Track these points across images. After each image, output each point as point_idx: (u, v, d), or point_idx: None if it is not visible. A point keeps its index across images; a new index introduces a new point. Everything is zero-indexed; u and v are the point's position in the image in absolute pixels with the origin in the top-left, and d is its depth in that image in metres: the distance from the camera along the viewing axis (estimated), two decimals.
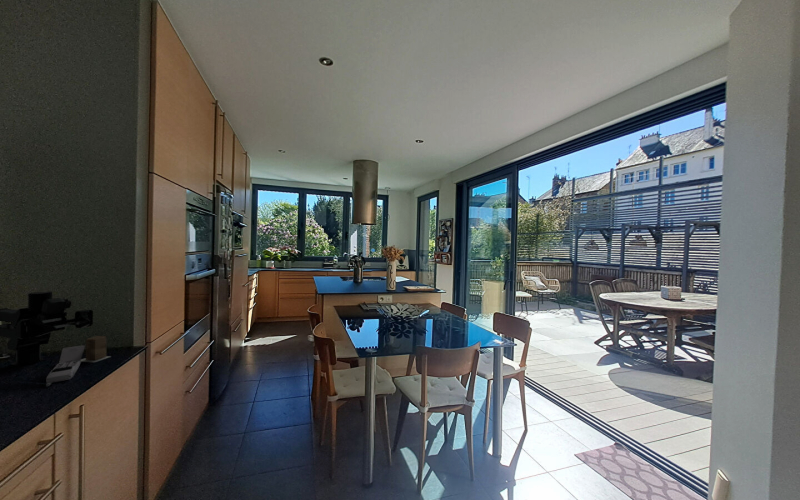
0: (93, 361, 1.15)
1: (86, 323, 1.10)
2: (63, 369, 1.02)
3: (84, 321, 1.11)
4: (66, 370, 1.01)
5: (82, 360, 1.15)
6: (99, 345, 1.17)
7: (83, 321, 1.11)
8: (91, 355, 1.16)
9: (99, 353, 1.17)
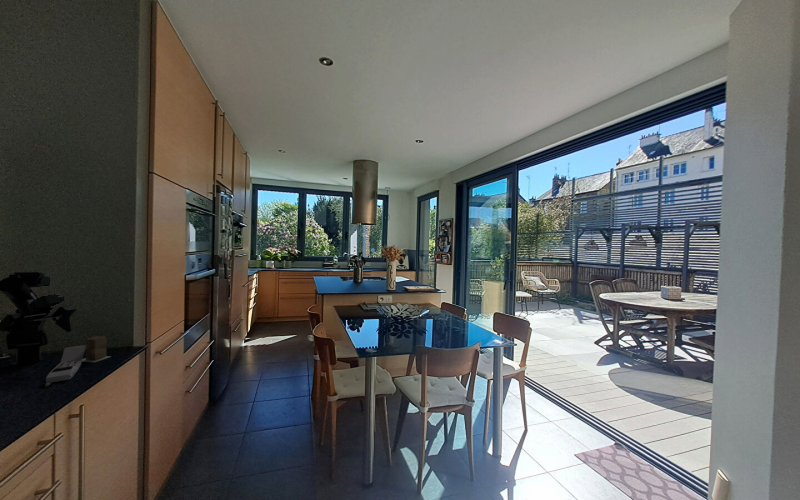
0: (93, 361, 1.15)
1: (65, 329, 1.12)
2: (63, 369, 1.02)
3: (64, 325, 1.12)
4: (66, 370, 1.01)
5: (82, 360, 1.15)
6: (99, 345, 1.17)
7: (64, 324, 1.12)
8: (91, 355, 1.16)
9: (99, 353, 1.17)
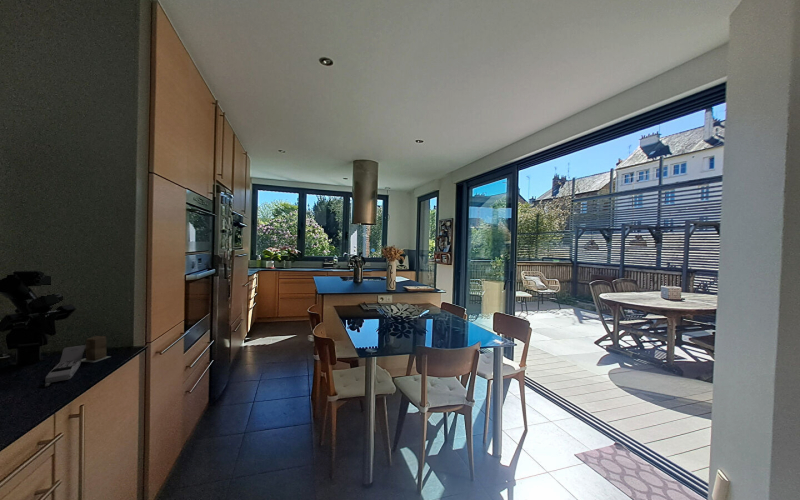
0: (93, 361, 1.15)
1: None
2: (63, 369, 1.02)
3: None
4: (65, 370, 1.01)
5: (82, 360, 1.15)
6: (99, 345, 1.17)
7: None
8: (91, 355, 1.16)
9: (99, 353, 1.17)
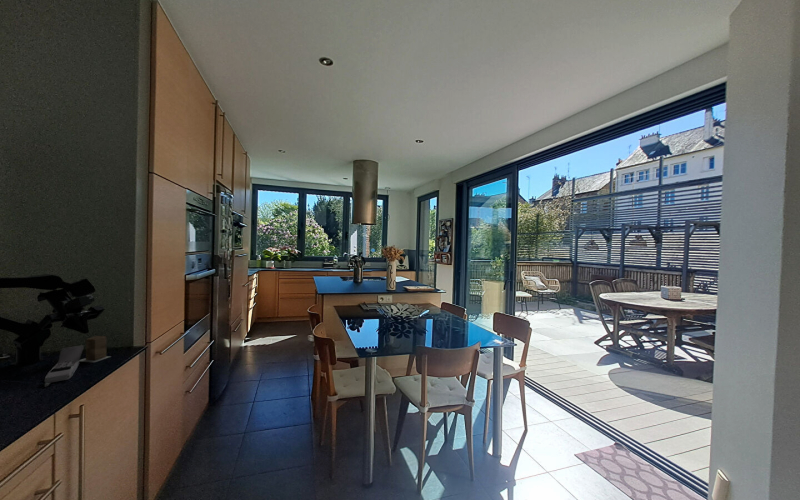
0: (93, 361, 1.15)
1: None
2: (62, 369, 1.02)
3: None
4: (65, 370, 1.01)
5: (82, 360, 1.15)
6: (99, 345, 1.17)
7: None
8: (91, 355, 1.16)
9: (99, 353, 1.17)
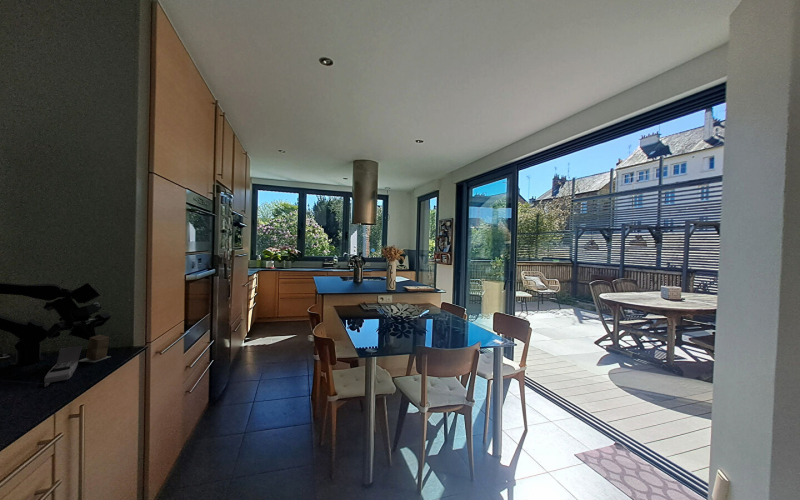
0: (93, 361, 1.15)
1: None
2: (61, 369, 1.02)
3: None
4: (64, 370, 1.01)
5: (82, 360, 1.15)
6: (101, 345, 1.17)
7: None
8: (92, 354, 1.16)
9: (100, 353, 1.17)
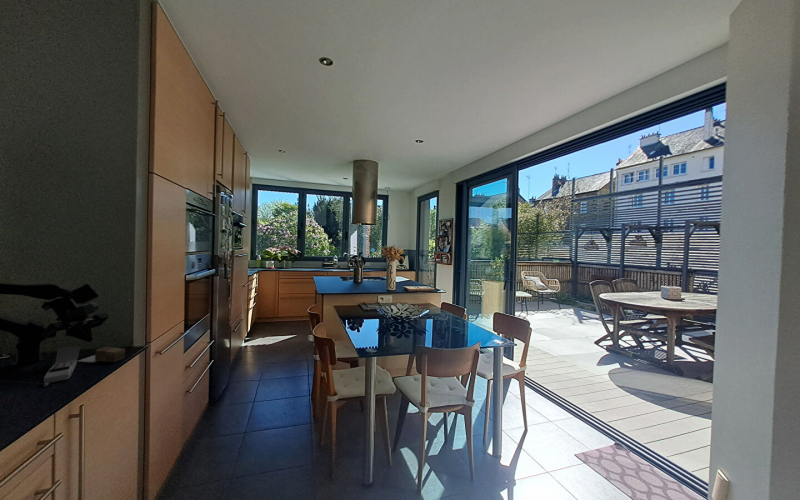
0: (93, 361, 1.15)
1: None
2: (60, 369, 1.01)
3: None
4: (63, 370, 1.01)
5: (82, 360, 1.15)
6: None
7: None
8: (99, 356, 1.15)
9: None
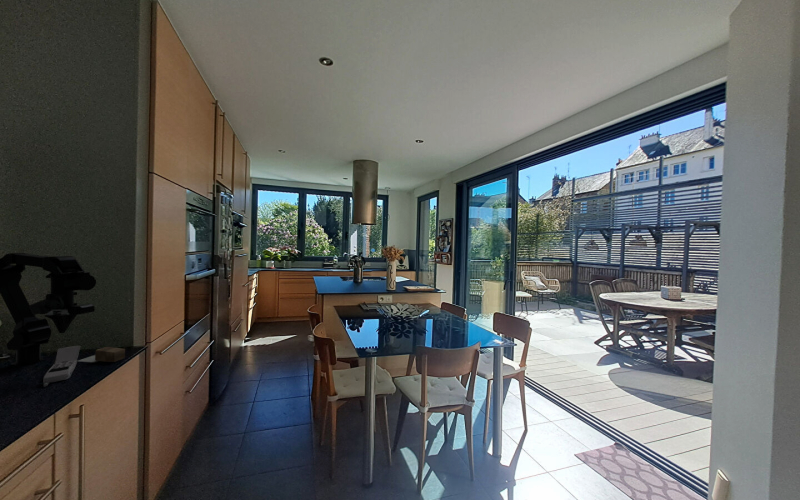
0: (93, 361, 1.15)
1: None
2: (60, 369, 1.01)
3: None
4: (63, 370, 1.01)
5: (82, 360, 1.15)
6: None
7: None
8: (99, 356, 1.15)
9: None
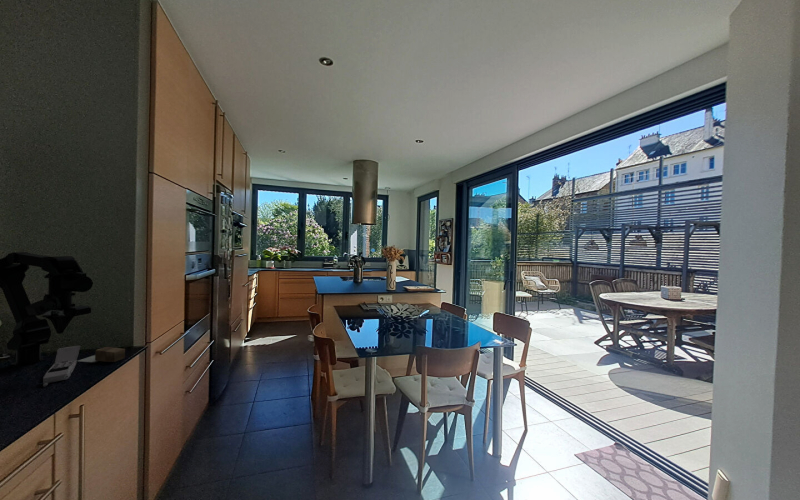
0: (93, 361, 1.15)
1: None
2: (60, 369, 1.01)
3: None
4: (63, 370, 1.01)
5: (82, 360, 1.15)
6: None
7: None
8: (99, 356, 1.15)
9: None
